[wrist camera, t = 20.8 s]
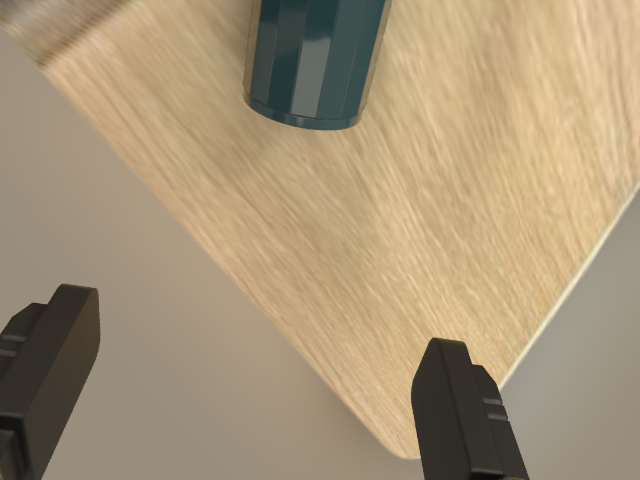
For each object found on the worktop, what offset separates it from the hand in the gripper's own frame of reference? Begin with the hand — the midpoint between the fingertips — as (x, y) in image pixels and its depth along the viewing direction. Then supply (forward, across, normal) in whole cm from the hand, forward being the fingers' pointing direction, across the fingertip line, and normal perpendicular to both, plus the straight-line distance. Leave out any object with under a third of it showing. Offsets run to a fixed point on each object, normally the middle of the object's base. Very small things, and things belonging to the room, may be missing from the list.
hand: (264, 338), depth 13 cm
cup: (+18, -1, +1) cm, 18 cm away
